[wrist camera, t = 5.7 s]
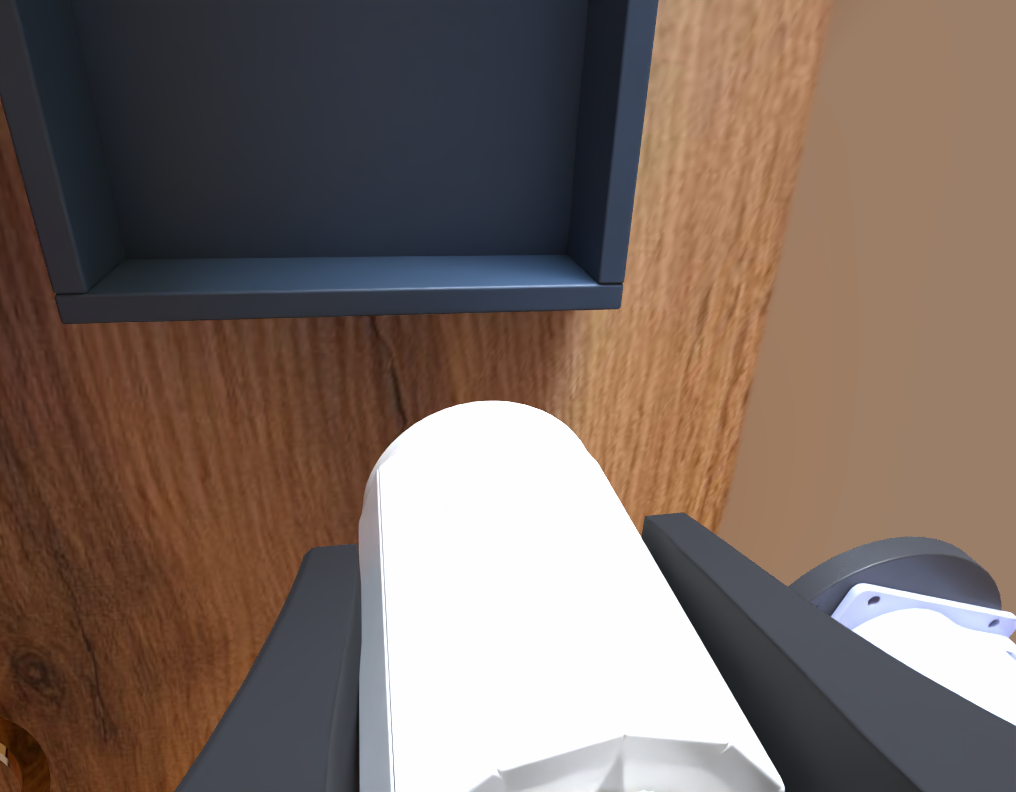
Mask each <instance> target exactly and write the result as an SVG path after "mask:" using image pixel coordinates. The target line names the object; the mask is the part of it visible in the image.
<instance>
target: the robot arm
mask: <svg viewBox="0 0 1016 792" xmlns="http://www.w3.org/2000/svg"><path fill="white" fill-rule="evenodd" d="M642 540H643V542H644V543H645V545H646V547H647V549H648V550H649V552H650V554H651V555H652V557H653V559H654V561H655V562H656V564H657V566H658V567H659V569H660V571H661V573H662V574H663V576H664V578H665V580H666V581H667V583H668V585H669V586H670V588H671V590H672V592H673V593H674V595H675V597H676V598H677V600H678V602H679V604H680V605H681V607H682V609H683V610H684V612H685V614H686V616H687V617H688V619H689V621H690V623H691V624H692V626H693V628H694V629H695V631H696V633H697V635H698V636H699V638H700V640H701V641H702V643H703V645H704V647H705V648H706V650H707V652H708V653H709V655H710V657H711V659H712V660H713V662H714V664H715V666H716V667H717V669H718V671H719V672H720V674H721V676H722V678H723V679H724V681H725V683H726V684H727V686H728V688H729V690H730V691H731V693H732V695H733V697H734V698H735V700H736V702H737V703H738V705H739V707H740V709H741V710H742V712H743V714H744V715H745V717H746V719H747V721H748V722H749V724H750V726H751V727H752V729H753V731H754V733H755V734H756V736H757V738H758V740H759V741H760V743H761V745H762V746H763V748H764V750H765V752H766V753H767V755H768V757H769V758H770V760H771V762H772V764H773V765H774V767H775V769H776V770H777V772H778V774H779V776H780V777H781V779H782V782H783V784H784V787H785V792H1016V645H1015V644H1014V643H1013V642H1012V641H1011V640H1010V639H1009V637H1010V636H1011V634H1012V633H1013V632H1014V631H1015V630H1016V616H1014V615H1013V614H1012V613H1010V612H1005V611H1000V610H995V609H990V608H985V607H980V606H975V605H970V604H965V603H960V602H955V601H950V600H945V599H940V598H935V597H930V596H925V595H920V594H916V593H911V592H906V591H901V590H896V589H891V588H886V587H881V586H876V585H871V584H866V583H861V584H857V585H855V586H854V587H852V588H851V589H850V590H849V592H848V593H847V595H846V596H845V597H844V599H843V600H842V602H841V603H840V604H839V606H838V607H837V609H836V610H835V611H834V613H833V614H832V616H829V615H828V614H826V613H825V612H823V611H822V610H820V609H819V608H817V607H816V606H814V605H813V604H812V603H810V602H809V601H807V600H806V599H804V598H803V597H801V596H800V595H799V594H797V593H796V592H794V591H793V590H791V589H790V588H789V587H787V586H786V585H784V584H783V583H781V582H780V581H779V580H777V579H776V578H775V577H773V576H772V575H770V574H769V573H768V572H766V571H765V570H763V569H762V568H761V567H759V566H758V565H757V564H755V563H754V562H752V561H751V560H750V559H748V558H747V557H745V556H744V555H743V554H741V553H740V552H739V551H737V550H736V549H735V548H733V547H732V546H730V545H729V544H728V543H726V542H725V541H724V540H722V539H721V538H719V537H718V536H717V535H715V534H714V533H713V532H711V531H710V530H708V529H707V528H706V527H704V526H703V525H701V524H700V523H698V522H697V521H696V520H694V519H693V518H691V517H690V516H688V515H687V514H685V513H673V514H663V515H652V516H645V519H644V525H643V532H642ZM361 645H362V610H361V576H360V563H359V551H358V544H347V545H337V546H326V547H316V548H311V549H310V550H309V551H308V552H307V553H306V554H305V555H304V556H303V559H302V562H301V565H300V568H299V571H298V573H297V576H296V578H295V581H294V583H293V585H292V588H291V590H290V592H289V595H288V597H287V599H286V601H285V603H284V605H283V607H282V610H281V612H280V614H279V616H278V618H277V620H276V622H275V624H274V626H273V628H272V630H271V632H270V634H269V636H268V637H267V639H266V641H265V643H264V645H263V647H262V649H261V650H260V652H259V654H258V656H257V658H256V660H255V662H254V664H253V665H252V667H251V669H250V671H249V673H248V675H247V676H246V678H245V680H244V682H243V683H242V685H241V687H240V689H239V690H238V692H237V694H236V695H235V697H234V699H233V700H232V702H231V703H230V705H229V707H228V708H227V710H226V712H225V713H224V715H223V716H222V718H221V720H220V721H219V723H218V725H217V726H216V728H215V729H214V731H213V733H212V734H211V736H210V738H209V739H208V741H207V743H206V744H205V746H204V747H203V749H202V750H201V752H200V754H199V755H198V757H197V758H196V760H195V761H194V763H193V764H192V766H191V767H190V769H189V770H188V772H187V773H186V775H185V776H184V778H183V779H182V781H181V782H180V784H179V785H178V786H177V788H176V789H175V791H174V792H360V766H359V673H360V659H361Z"/></svg>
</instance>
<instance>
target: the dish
mask: <svg viewBox="0 0 1016 792" xmlns="http://www.w3.org/2000/svg"><path fill="white" fill-rule="evenodd" d="M657 8H658V0H0V98H1V102H2V105H3V109H4V113H5V116H6V120H7V124H8V128H9V131H10V135H11V139H12V142H13V146H14V150H15V153H16V157H17V161H18V164H19V168H20V172H21V175H22V179H23V183H24V187H25V190H26V194H27V198H28V201H29V205H30V209H31V212H32V216H33V220H34V223H35V227H36V231H37V234H38V238H39V242H40V245H41V249H42V253H43V257H44V260H45V264H46V268H47V271H48V275H49V279H50V282H51V286H52V290H53V292H54V293H57V294H56V295H55V301H56V304H57V308H58V312H59V316H60V319H61V322H62V323H63V324H85V323H122V322H159V321H196V320H233V319H270V318H307V317H344V316H382V315H419V314H456V313H493V312H530V311H567V310H604V309H619V308H620V307H621V299H622V291H623V284H622V283H623V282H624V277H625V269H626V261H627V252H628V244H629V236H630V228H631V220H632V212H633V204H634V195H635V187H636V179H637V171H638V163H639V155H640V147H641V138H642V130H643V122H644V114H645V106H646V98H647V90H648V81H649V73H650V65H651V57H652V49H653V41H654V33H655V24H656V16H657Z"/></svg>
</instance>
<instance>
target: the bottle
mask: <svg viewBox="0 0 1016 792" xmlns="http://www.w3.org/2000/svg"><path fill="white" fill-rule="evenodd" d="M359 563H360V576H361V610H362V645H361V659H360V673H359V766H360V792H785V787H784V784H783V782H782V779H781V777H780V776H779V774H778V772H777V770H776V769H775V767H774V765H773V764H772V762H771V760H770V758H769V757H768V755H767V753H766V752H765V750H764V748H763V746H762V745H761V743H760V741H759V740H758V738H757V736H756V734H755V733H754V731H753V729H752V727H751V726H750V724H749V722H748V721H747V719H746V717H745V715H744V714H743V712H742V710H741V709H740V707H739V705H738V703H737V702H736V700H735V698H734V697H733V695H732V693H731V691H730V690H729V688H728V686H727V684H726V683H725V681H724V679H723V678H722V676H721V674H720V672H719V671H718V669H717V667H716V666H715V664H714V662H713V660H712V659H711V657H710V655H709V653H708V652H707V650H706V648H705V647H704V645H703V643H702V641H701V640H700V638H699V636H698V635H697V633H696V631H695V629H694V628H693V626H692V624H691V623H690V621H689V619H688V617H687V616H686V614H685V612H684V610H683V609H682V607H681V605H680V604H679V602H678V600H677V598H676V597H675V595H674V593H673V592H672V590H671V588H670V586H669V585H668V583H667V581H666V580H665V578H664V576H663V574H662V573H661V571H660V569H659V567H658V566H657V564H656V562H655V561H654V559H653V557H652V555H651V554H650V552H649V550H648V549H647V547H646V545H645V543H644V542H643V540H642V538H641V537H640V535H639V533H638V531H637V530H636V528H635V526H634V524H633V523H632V521H631V519H630V518H629V516H628V514H627V512H626V511H625V509H624V507H623V506H622V504H621V502H620V500H619V499H618V497H617V495H616V493H615V492H614V490H613V488H612V487H611V485H610V483H609V481H608V480H607V478H606V476H605V475H604V473H603V471H602V469H601V468H600V466H599V464H598V463H597V462H596V460H595V459H594V458H593V457H592V456H591V455H590V454H589V453H588V452H587V451H586V449H585V447H584V445H583V444H582V442H581V441H580V440H579V438H578V437H577V436H576V435H575V433H574V432H573V431H572V430H570V429H569V428H568V427H567V426H566V425H565V424H564V423H562V422H561V421H559V420H558V419H556V418H555V417H553V416H552V415H550V414H548V413H546V412H544V411H542V410H539V409H536V408H533V407H530V406H527V405H524V404H519V403H513V402H506V401H478V402H471V403H466V404H460V405H457V406H453V407H450V408H447V409H444V410H441V411H439V412H437V413H434V414H432V415H430V416H428V417H426V418H424V419H422V420H421V421H419V422H417V423H415V424H414V425H413V426H411V427H410V428H409V429H407V430H406V431H404V432H403V433H402V434H401V435H400V436H399V437H398V438H397V439H396V440H394V441H393V442H392V443H391V444H390V445H389V447H388V448H387V449H386V450H385V452H384V453H383V454H382V455H381V457H380V458H379V460H378V461H377V463H376V465H375V466H374V468H373V470H372V472H371V474H370V477H369V479H368V482H367V485H366V489H365V493H364V497H363V508H362V514H361V517H360V520H359Z"/></svg>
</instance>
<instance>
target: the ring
mask: <svg viewBox="0 0 1016 792" xmlns="http://www.w3.org/2000/svg"><path fill="white" fill-rule="evenodd" d="M0 760H1V761H2V762H3V763H5V764H6V765H7V766H8V767H9V769H10V770H11V771H12V772H13V774H14V775H15V777H16V779H17V781H18V783H19V785H20V788H21V792H50V785H51V779H50V770H49V765H48V761H47V758H46V756H45V754H44V751H43V750H42V748H41V746H40V745H39V743H38V742H37V741H36V740H35V738H34V737H33V736H32V735H31V734H30V733H28V732H27V731H26V730H25V729H23V728H22V727H20V726H19V725H17V724H15V723H13V722H12V721H9V720H7V719H5V718H2V717H0Z"/></svg>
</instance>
